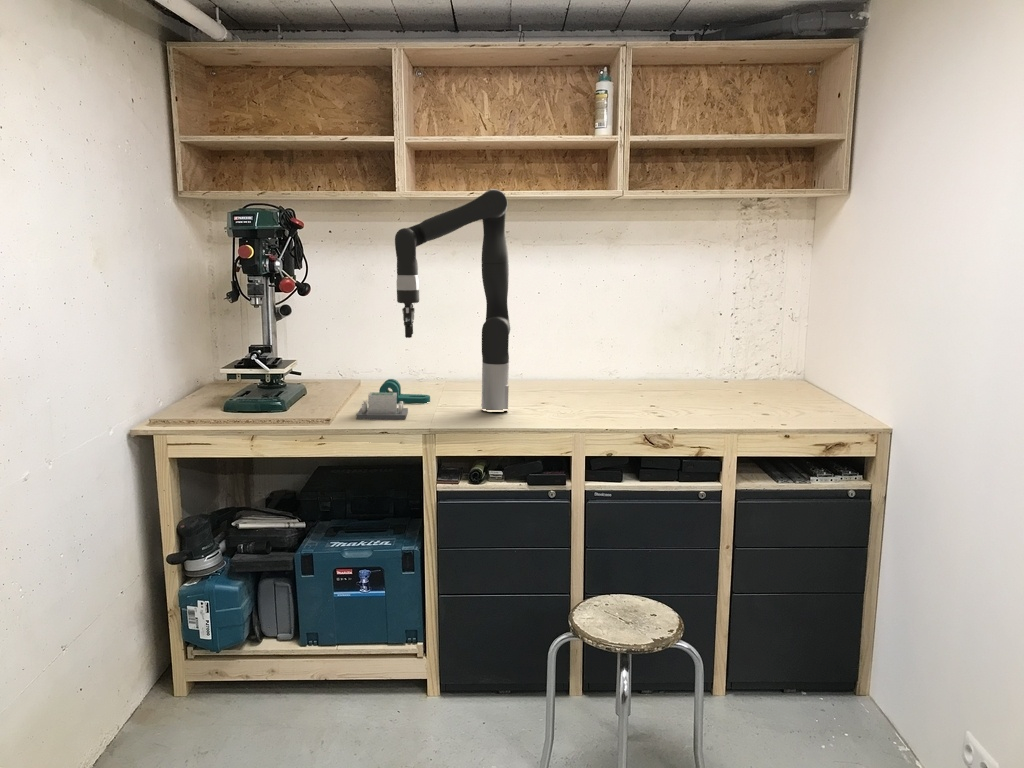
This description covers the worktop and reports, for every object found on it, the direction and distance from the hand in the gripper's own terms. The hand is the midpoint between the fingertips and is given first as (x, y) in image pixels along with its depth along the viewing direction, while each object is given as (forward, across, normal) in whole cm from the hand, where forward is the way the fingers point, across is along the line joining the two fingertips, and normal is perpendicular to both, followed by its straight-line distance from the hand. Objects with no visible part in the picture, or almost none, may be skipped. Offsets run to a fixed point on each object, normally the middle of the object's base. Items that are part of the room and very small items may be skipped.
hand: (409, 336), depth 235 cm
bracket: (+26, +12, +3) cm, 29 cm away
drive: (+24, -10, +9) cm, 27 cm away
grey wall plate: (+26, -10, +9) cm, 29 cm away
